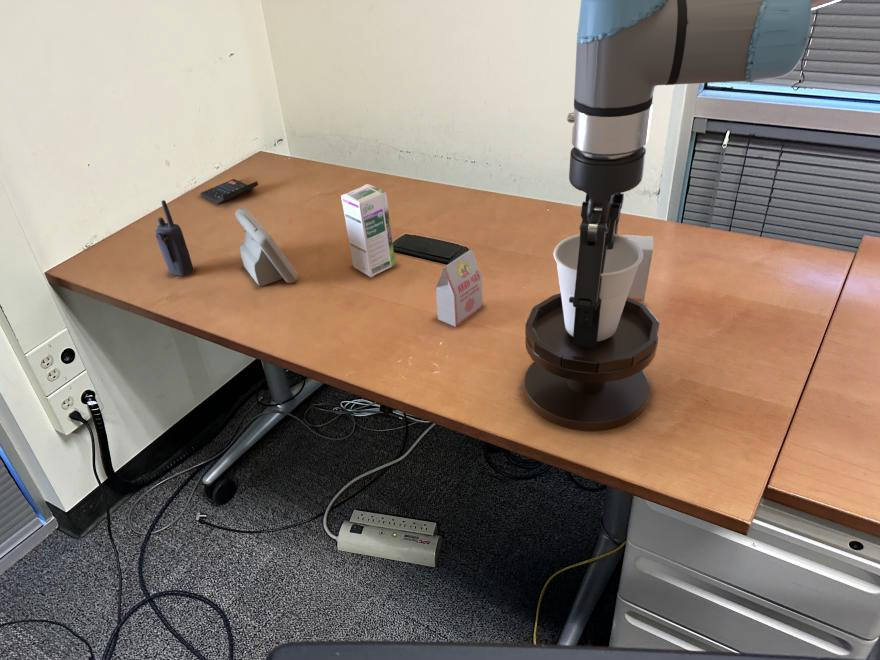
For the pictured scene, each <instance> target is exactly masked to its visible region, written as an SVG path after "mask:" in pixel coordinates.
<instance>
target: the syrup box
mask: <svg viewBox="0 0 880 660" xmlns="http://www.w3.org/2000/svg"><path fill="white" fill-rule="evenodd" d="M340 198H341V205H342V210H343V214H344V216H343V217H344V220H345V227H346V232H347V237H348V244H349V249H350V255H351V260H352V266H353V268H355V269H356V270H358V271H359V272H361V273H362V274H364V275H366V276H367V277H369V278H373V277H374V276H376V275H379V274H381V273H382V272H384V271H386V270H388V269H390V268H393V267H395V266H396V259H395V251H394V243H393V236H392V227H391V221H390V213H389V204H388V197H387V192H386V191H385V190H383V189H381V188H380V187H377V186H374V185H372V184H368V183H366V184H364V185H363V186H361V187H358V188H356V189H353V190H351V191H348V192H347V193H344V194H341V195H340Z"/></svg>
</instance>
